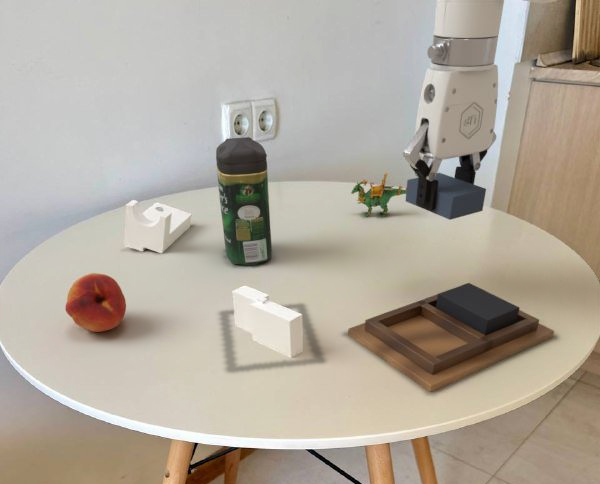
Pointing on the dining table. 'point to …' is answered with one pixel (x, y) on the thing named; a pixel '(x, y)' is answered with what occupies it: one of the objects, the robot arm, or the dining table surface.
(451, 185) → the pad front
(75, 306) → the fruit
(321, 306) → the dining table surface
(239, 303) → the white stepped block
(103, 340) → the dining table surface
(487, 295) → the pad near
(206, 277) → the dining table surface
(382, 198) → the figurine
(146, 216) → the bracket
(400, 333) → the wooden tray
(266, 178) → the coffee jar
